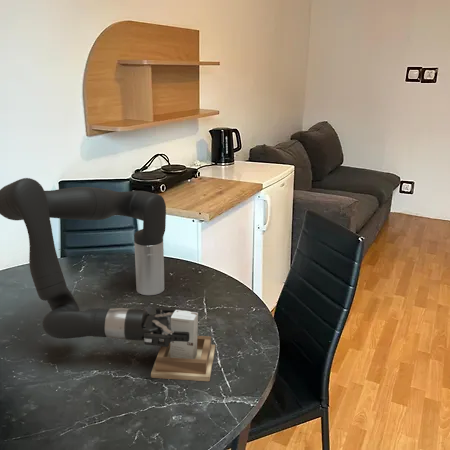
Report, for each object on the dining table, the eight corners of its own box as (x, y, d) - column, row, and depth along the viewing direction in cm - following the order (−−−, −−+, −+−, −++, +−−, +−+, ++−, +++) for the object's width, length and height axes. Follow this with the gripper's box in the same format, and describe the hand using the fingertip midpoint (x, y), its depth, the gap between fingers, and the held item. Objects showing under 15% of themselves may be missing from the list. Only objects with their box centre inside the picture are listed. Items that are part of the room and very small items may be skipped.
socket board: (162, 345, 127) (162, 331, 126) (215, 348, 126) (215, 334, 125) (151, 377, 114) (150, 362, 112) (209, 381, 113) (209, 366, 112)
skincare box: (169, 361, 118) (168, 317, 115) (175, 351, 122) (174, 308, 119) (193, 364, 117) (193, 320, 113) (198, 354, 121) (198, 311, 118)
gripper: (117, 325, 110) (187, 329, 109) (134, 297, 123) (196, 300, 122) (119, 353, 112) (187, 357, 111) (135, 323, 126) (196, 326, 125)
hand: (192, 327), depth 117 cm, fingers open, 8 cm apart
